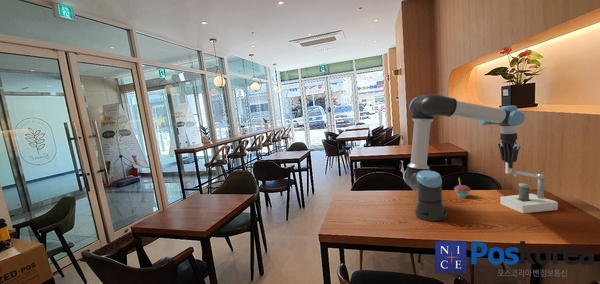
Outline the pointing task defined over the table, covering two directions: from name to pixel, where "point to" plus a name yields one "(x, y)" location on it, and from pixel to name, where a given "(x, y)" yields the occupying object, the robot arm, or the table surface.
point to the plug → (523, 192)
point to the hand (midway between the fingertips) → (508, 173)
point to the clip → (528, 174)
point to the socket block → (530, 201)
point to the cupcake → (462, 190)
